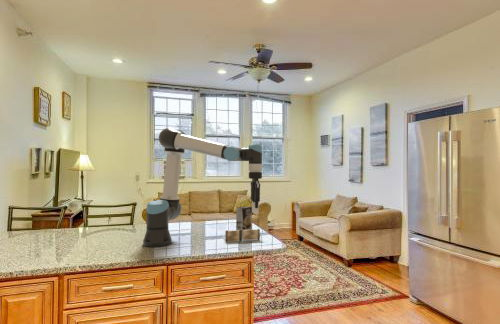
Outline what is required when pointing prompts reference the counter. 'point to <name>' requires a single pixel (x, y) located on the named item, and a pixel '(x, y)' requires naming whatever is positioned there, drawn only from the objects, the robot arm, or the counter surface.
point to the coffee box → (244, 218)
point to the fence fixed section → (233, 235)
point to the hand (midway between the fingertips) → (255, 213)
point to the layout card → (240, 241)
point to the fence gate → (251, 234)
